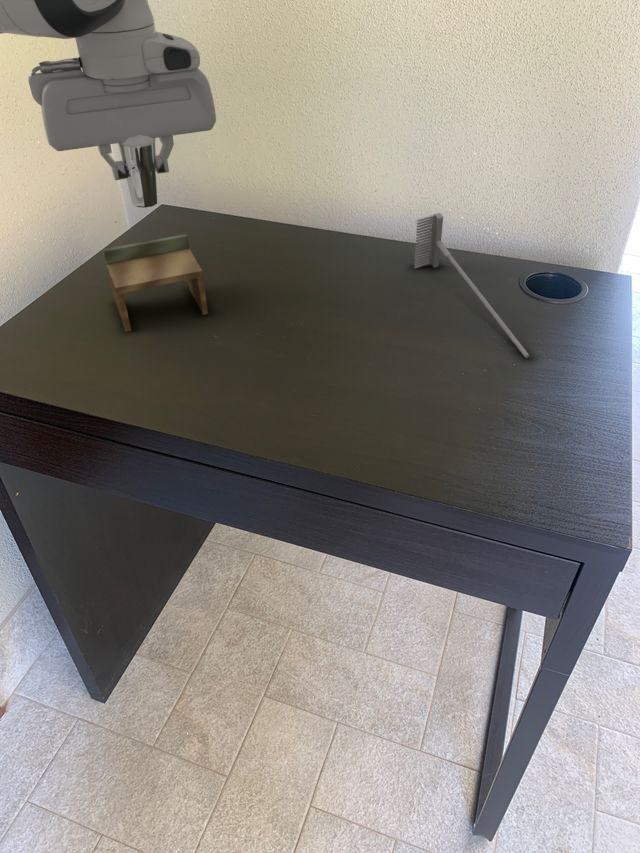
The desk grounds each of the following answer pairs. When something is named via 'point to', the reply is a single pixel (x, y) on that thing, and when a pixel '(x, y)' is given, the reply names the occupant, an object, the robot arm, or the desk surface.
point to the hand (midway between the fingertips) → (141, 174)
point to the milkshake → (140, 169)
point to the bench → (153, 269)
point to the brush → (433, 254)
